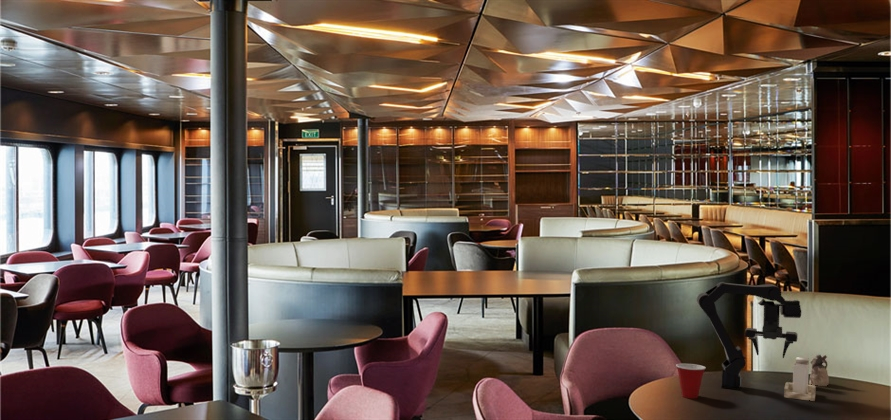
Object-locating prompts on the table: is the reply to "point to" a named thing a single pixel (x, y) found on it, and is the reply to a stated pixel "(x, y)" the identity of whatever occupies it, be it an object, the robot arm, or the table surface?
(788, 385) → the cradle
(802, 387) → the block
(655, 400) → the table surface
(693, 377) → the plastic cup
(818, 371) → the figurine
